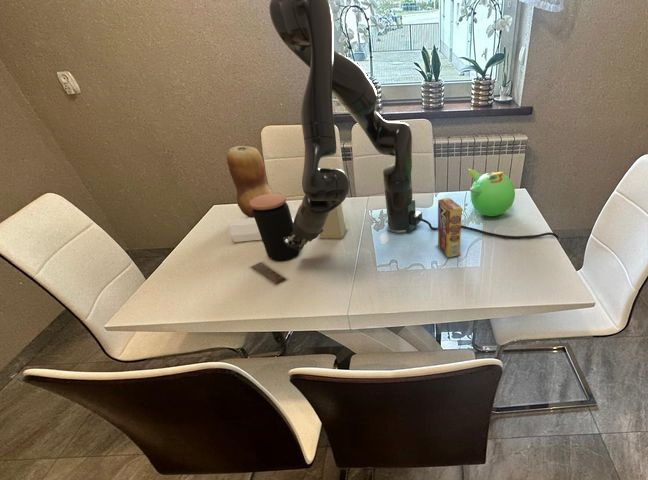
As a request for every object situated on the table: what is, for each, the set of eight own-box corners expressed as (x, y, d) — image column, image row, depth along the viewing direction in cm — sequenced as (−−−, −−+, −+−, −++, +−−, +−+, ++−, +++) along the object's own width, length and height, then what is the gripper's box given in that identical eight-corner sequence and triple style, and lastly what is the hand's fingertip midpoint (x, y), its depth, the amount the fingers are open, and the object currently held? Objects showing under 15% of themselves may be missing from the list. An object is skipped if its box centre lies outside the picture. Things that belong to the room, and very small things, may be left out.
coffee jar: (307, 248, 127) (292, 194, 115) (290, 264, 120) (273, 208, 107) (279, 245, 129) (262, 192, 117) (262, 260, 122) (241, 205, 110)
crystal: (222, 236, 128) (293, 229, 129) (223, 218, 130) (293, 212, 131) (232, 248, 135) (300, 242, 136) (233, 231, 137) (299, 225, 138)
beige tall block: (347, 229, 136) (336, 167, 122) (342, 238, 131) (330, 175, 117) (326, 229, 137) (312, 168, 123) (320, 238, 132) (305, 176, 118)
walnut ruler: (285, 279, 113) (285, 278, 112) (276, 284, 111) (276, 282, 111) (261, 263, 121) (260, 262, 120) (252, 267, 119) (251, 266, 119)
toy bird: (516, 222, 134) (522, 179, 124) (468, 224, 135) (470, 181, 125) (508, 202, 147) (512, 162, 137) (464, 204, 148) (466, 164, 138)
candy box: (460, 255, 119) (462, 207, 108) (448, 258, 118) (448, 210, 107) (449, 243, 125) (450, 197, 114) (437, 246, 124) (437, 199, 113)
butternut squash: (278, 222, 144) (256, 150, 127) (242, 227, 142) (215, 155, 125) (280, 208, 154) (259, 140, 137) (246, 212, 152) (221, 144, 135)
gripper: (322, 200, 104) (308, 229, 119) (280, 215, 98) (271, 245, 113) (337, 223, 105) (322, 250, 120) (297, 240, 98) (286, 266, 113)
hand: (297, 247), depth 116 cm, fingers closed
